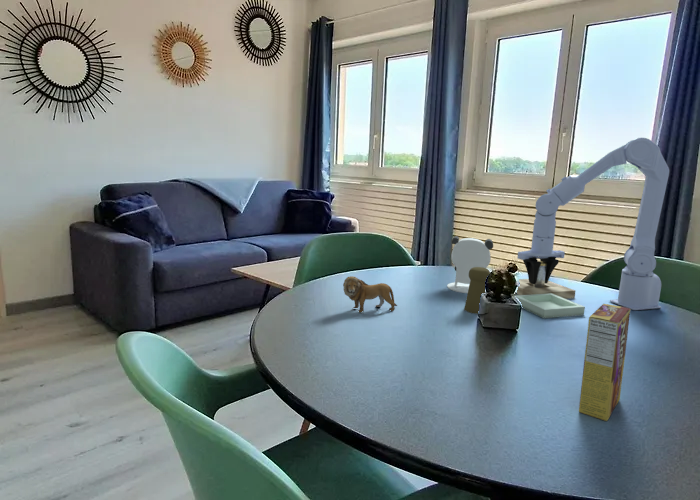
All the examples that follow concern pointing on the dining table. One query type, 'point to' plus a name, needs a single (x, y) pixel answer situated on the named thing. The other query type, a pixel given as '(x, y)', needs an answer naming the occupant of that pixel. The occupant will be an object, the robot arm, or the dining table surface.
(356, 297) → the lion figurine
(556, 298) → the sage tray
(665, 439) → the dining table surface
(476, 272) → the cork
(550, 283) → the hitch block
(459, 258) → the panda figurine
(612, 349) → the candy box
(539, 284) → the steel pin
